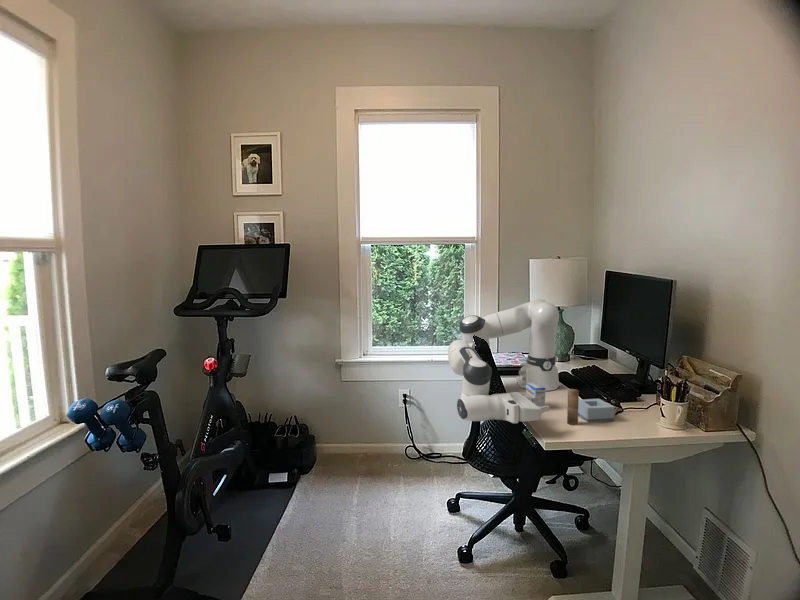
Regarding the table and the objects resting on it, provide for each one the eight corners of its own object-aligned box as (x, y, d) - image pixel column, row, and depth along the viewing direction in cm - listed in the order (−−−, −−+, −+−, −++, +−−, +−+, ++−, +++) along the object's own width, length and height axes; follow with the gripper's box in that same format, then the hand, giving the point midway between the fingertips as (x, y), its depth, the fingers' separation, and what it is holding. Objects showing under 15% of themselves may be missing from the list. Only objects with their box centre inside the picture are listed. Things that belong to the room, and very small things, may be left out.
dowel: (565, 421, 172) (566, 389, 171) (574, 421, 173) (575, 388, 171) (570, 425, 169) (571, 392, 167) (579, 424, 169) (580, 391, 168)
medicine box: (525, 403, 193) (525, 382, 192) (535, 402, 194) (535, 381, 193) (534, 410, 185) (535, 388, 184) (545, 409, 186) (545, 387, 185)
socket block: (574, 412, 181) (574, 400, 181) (598, 411, 183) (599, 398, 182) (588, 422, 172) (588, 408, 171) (614, 420, 173) (614, 406, 173)
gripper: (494, 405, 177) (530, 403, 179) (515, 425, 157) (555, 422, 159) (494, 389, 176) (530, 387, 178) (515, 406, 156) (556, 404, 158)
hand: (542, 404), depth 168 cm, fingers open, 8 cm apart
